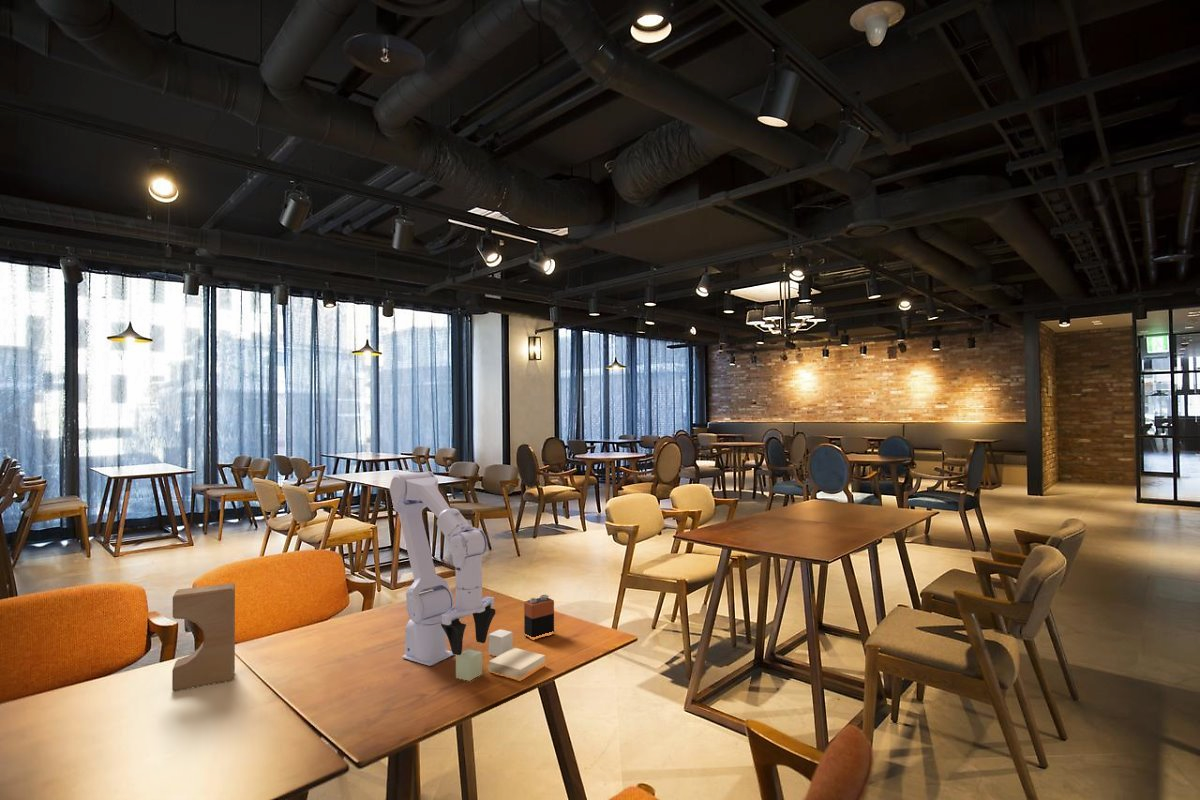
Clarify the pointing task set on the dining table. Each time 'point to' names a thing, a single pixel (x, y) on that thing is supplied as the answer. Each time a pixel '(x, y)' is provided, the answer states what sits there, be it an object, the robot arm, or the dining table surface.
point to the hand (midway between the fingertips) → (469, 647)
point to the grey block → (500, 642)
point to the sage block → (468, 664)
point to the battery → (538, 616)
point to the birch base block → (515, 662)
